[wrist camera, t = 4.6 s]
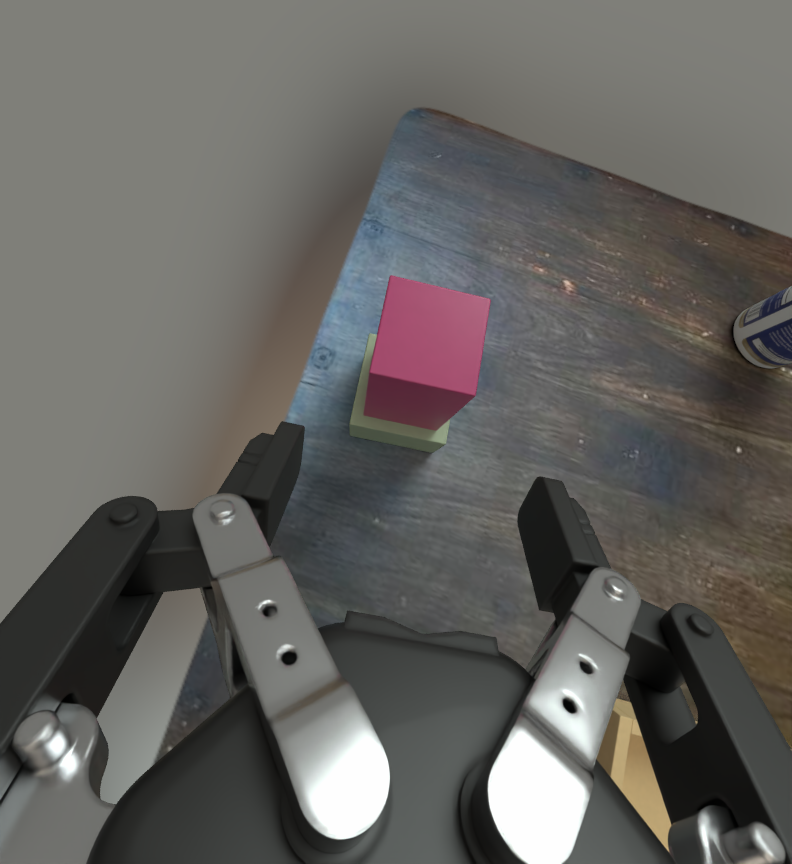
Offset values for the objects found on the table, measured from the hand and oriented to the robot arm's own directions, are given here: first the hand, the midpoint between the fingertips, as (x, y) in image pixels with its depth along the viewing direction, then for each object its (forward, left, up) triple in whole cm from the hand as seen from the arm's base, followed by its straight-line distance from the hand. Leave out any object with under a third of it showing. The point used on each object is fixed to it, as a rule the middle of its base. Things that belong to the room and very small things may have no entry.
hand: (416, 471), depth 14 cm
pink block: (+3, +6, -10) cm, 12 cm away
